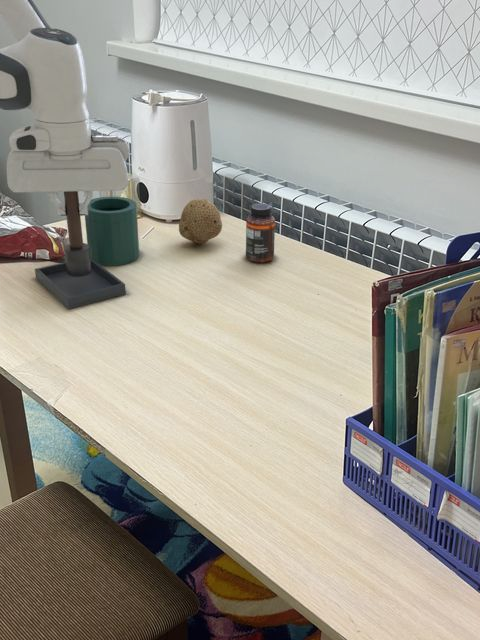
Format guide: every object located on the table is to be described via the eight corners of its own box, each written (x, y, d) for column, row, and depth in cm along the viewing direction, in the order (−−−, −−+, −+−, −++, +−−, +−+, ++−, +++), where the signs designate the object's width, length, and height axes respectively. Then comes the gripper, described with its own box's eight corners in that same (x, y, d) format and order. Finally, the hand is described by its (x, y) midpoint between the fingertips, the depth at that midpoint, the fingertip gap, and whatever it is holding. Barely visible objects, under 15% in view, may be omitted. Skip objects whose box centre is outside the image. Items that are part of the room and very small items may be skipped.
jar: (80, 252, 144) (75, 201, 139) (124, 243, 150) (121, 193, 144) (102, 269, 137) (97, 216, 132) (147, 258, 143) (145, 207, 137)
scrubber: (63, 270, 129) (53, 186, 121) (85, 265, 131) (76, 182, 123) (73, 278, 126) (63, 192, 118) (95, 273, 128) (87, 189, 120)
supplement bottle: (268, 251, 149) (270, 200, 143) (277, 262, 144) (280, 209, 138) (241, 254, 147) (243, 202, 141) (250, 265, 142) (251, 211, 136)
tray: (36, 278, 132) (34, 268, 131) (90, 266, 138) (89, 256, 137) (68, 309, 122) (67, 298, 121) (126, 294, 128) (125, 283, 127)
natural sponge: (230, 243, 152) (231, 199, 147) (204, 255, 145) (204, 209, 140) (199, 233, 156) (199, 190, 151) (172, 244, 150) (171, 199, 145)
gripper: (127, 130, 121) (132, 207, 128) (4, 131, 117) (16, 210, 124) (127, 139, 115) (132, 219, 122) (-2, 140, 112) (11, 222, 119)
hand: (73, 214), depth 123 cm, fingers closed on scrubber, 2 cm apart
